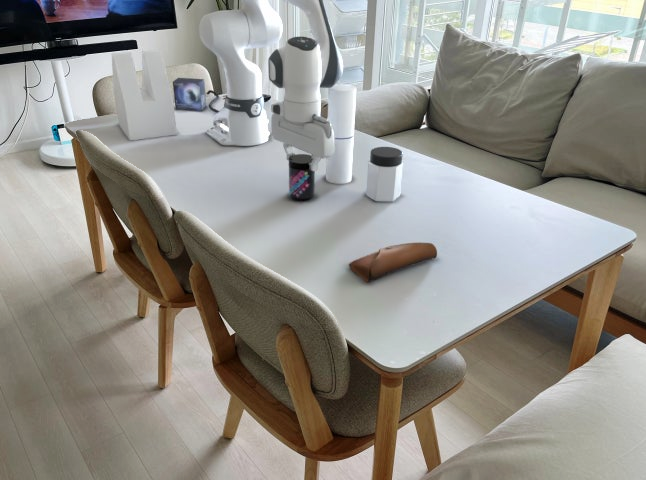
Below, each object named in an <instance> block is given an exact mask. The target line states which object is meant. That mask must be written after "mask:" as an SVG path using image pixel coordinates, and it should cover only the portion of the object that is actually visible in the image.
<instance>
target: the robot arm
mask: <svg viewBox="0 0 646 480" xmlns="http://www.w3.org/2000/svg"><path fill="white" fill-rule="evenodd" d="M239 1H240V2H241V8H239V9H225V10H223V9H222V10H216V11H214V12H210V13H206V14H204V15H203V16H202V17H201V19H200V22H199V26H198V34H199V38H200V41H201V43H202V44H203V46H205V48H206V49H208V50H209V51H211V52H212V53H213V55H215V56H216V58H217V59H218V60H219V62H220V63H221V67H222V69H223V73H224V78H225V79H224V80H225V88H226V95H222V97H223V98H222V100H223V101H224V104H223V107H222V108H220V110H218V109H216V108H214V107H213V106H212V105H213V104H214V103H215V102H217V101H218V100H219V99H220V96H219V94H218V93H217V92H215V91H214V90H211V89H209V90H207V92H206V95H210V94H213V95H214V96H215V98H213V99H212V100H211V101H210V102H209V104H208V108H209V110H211V111H212V112H214V113H215V114H214V116H213V120H212V121H213V122H212V123H213V127H209V128H208V129H206V134H207V135H208V136H209V137H211V139H214V140H215V141H216V142H217V143H219V144H220V145H221V146H238V147H250V146H257V145H262V144H264V143H266V142H268V141H269V136H270V135H272V137H273V139H274V140H275V141H277V142H280V143H282V146H283V150H284V152H285V154H286V160H287V161H288V162H289V157H290V156H292V155H296V153H295V152H294V150H293V148H295V149H297V150H300V151H302V152H304V153H307V154H309V155H311V156H312V158H313V160H312V163H309V170H311V171H315V172H316V171H318V170H319V163H320V162H321V159H326V158H327V157H330V156H332V155H333V153H334V136H333V130H332V125H331V124H330V123H329V121H328V118H326V117H322V116H321V108H322V107H321V106H322V96H321V95H322V94H321V92H320V89H328V88H331V87H332V86H334V85H335V84H338V82H339V80H340V79H341V78H342V76H343V73H344V64H343V63H344V62H343V58H342V54H341V53H340V52H341V51H340V50H339V47H338V45H337V42H336V40H335V37H334V34H333V30H332V27H331V23H330V20H329V16H328V12H327V9H326V5H325V2H324V0H282V1H283V2H286V3H289V4H292V5H293V6H295V7H297V8H299V9H300V10H301V11H302V12H303V13H304V14H305V16H306V18H307V21H308V24H309V27H310V31H311V34H312V37H307V36H293V37H291V38H289V39H287V41H285V46H283V47H280V48H276V49H274V50H273V52H271V54H270V55H269V57H268V60H267V61H268V62H267V66H268V80H269V81H270V82H271V83H272V84H273V85H274V86H275V87H276V88H278V89H284V95H283V100H282V101H279V102H275V103H272V104H271V105H270V111H271V113H272V115H271V118H270V119H271V120H270V121H271V122H270V123H271V127H270V129H271V130H269V128H268V123H269V119H268V118H267V112H266V110H265V109H264V106H265V99H264V94H263V84H262V82H263V81H262V71H261V69H260V67H259V65H257V64H256V63H254V62H253V61H250V60H248V59H246V58H245V53H244V50H249V49H260V48H266V47H269V46H273V45H275V44H277V43H278V42H280V40H281V38H282V35H283V30H284V29H283V21H282V19H281V17H280V15H279V13H278V12H277V11H276V10H274V9H273V8H272V6H271V4H270V3H269V1H268V0H239Z"/></svg>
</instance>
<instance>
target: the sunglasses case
mask: <svg viewBox="0 0 646 480" xmlns="http://www.w3.org/2000/svg"><path fill="white" fill-rule="evenodd" d="M437 256H438V250H437V246H436V245H434V244H433V243H431V242H421V241H420V242H407V243H401V244H394V245H388V246H386V247H382V248H379V249H378V251H375V252H373V253H369V254H367V255H363V256H362V257H360V258H357V259H355V260H353V261H351V262H349V263H348V267H349V268H350V270H351V271H352V272H353V273H354V274H356V276H358V277H359V278H361V280H362V281H365V282H366V283H370V282H371V281H375V280H377V279H380V278H383V277H384V276H387V275H390V274H392V273H395V272H397V271H399V270H402V269H406V268H409V267H411V266H413V265H417V264H421V263H423V262H426V261H428V260H432V259H436V258H437Z"/></svg>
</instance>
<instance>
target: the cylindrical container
mask: <svg viewBox="0 0 646 480" xmlns="http://www.w3.org/2000/svg"><path fill="white" fill-rule="evenodd" d="M327 89H328V91H327V93H328V94H327V98H328V99H327V119H328V121H329V123H330V124H331V125H332V130H333V136H334V153H333V155H332V156H330V157H327V158H325V180H326V181H327V182H329V183H330V184H336V185H343V184H348V183H350V182H351V181H352V176H353V172H352V171H353V154H354V137H355V136H354V135H355V118H356V117H355V116H356V103H357V102H356V100H357V87H356V86H355V85H352V84H345V83H336V84H335V85H334V86H332V87H331V88H327Z"/></svg>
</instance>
